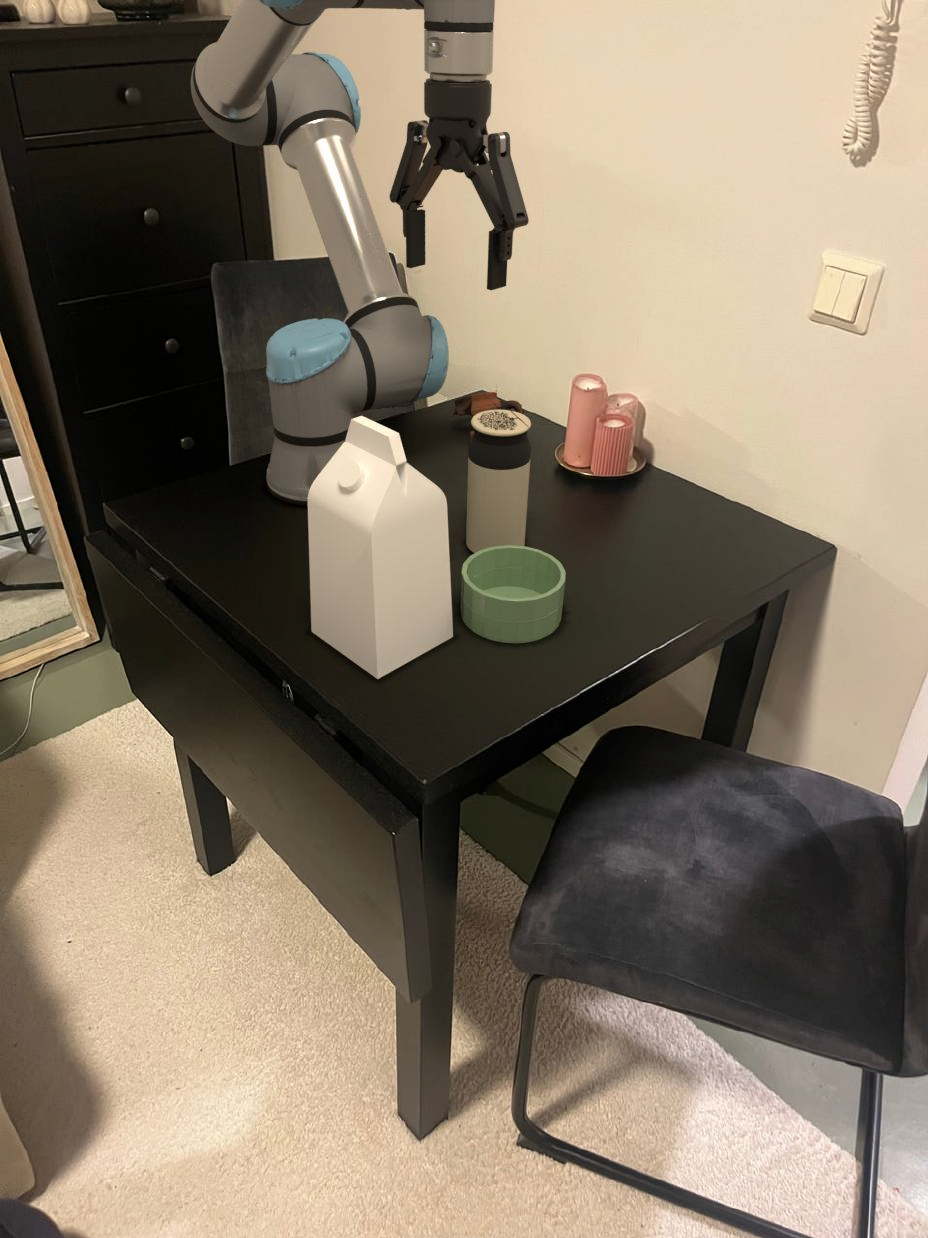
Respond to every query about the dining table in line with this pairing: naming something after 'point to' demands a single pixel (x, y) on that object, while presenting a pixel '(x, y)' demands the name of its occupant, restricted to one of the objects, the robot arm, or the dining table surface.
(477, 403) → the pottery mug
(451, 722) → the dining table surface
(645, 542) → the dining table surface
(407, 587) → the milk
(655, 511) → the dining table surface
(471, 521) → the travel mug
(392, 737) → the dining table surface
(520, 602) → the pot
